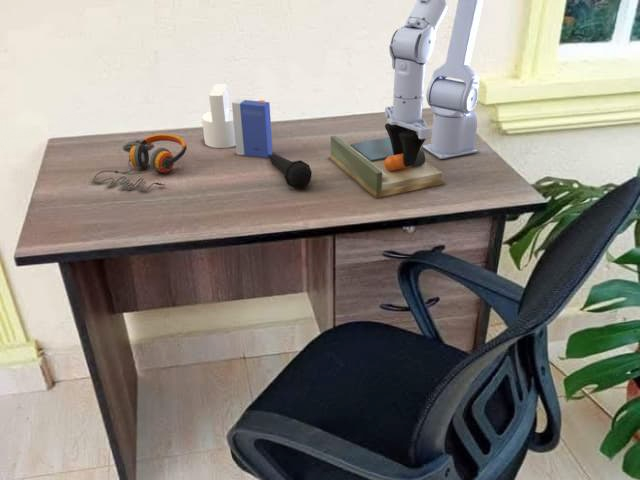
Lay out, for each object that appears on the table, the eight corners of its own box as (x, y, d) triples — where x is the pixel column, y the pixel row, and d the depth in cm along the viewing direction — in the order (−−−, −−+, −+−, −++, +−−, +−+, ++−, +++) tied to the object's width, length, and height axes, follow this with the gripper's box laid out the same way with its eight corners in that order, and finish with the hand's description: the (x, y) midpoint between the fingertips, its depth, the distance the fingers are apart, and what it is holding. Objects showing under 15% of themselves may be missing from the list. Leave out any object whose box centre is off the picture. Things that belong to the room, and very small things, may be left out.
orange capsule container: (418, 162, 138) (418, 147, 136) (425, 166, 136) (426, 152, 134) (381, 169, 136) (381, 155, 134) (388, 174, 133) (388, 159, 131)
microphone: (263, 172, 148) (297, 197, 132) (253, 150, 145) (286, 172, 129) (284, 161, 149) (320, 184, 133) (274, 138, 146) (310, 158, 129)
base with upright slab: (240, 147, 153) (236, 95, 145) (202, 148, 153) (195, 96, 146) (244, 133, 160) (240, 83, 153) (207, 134, 160) (201, 84, 153)
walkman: (272, 153, 149) (269, 100, 142) (267, 158, 147) (264, 104, 140) (241, 149, 152) (236, 97, 144) (236, 154, 149) (231, 101, 142)
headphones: (82, 172, 136) (137, 120, 147) (92, 193, 139) (144, 141, 151) (149, 186, 130) (201, 131, 141) (157, 207, 134) (207, 152, 145)
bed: (391, 147, 151) (392, 125, 148) (442, 184, 135) (444, 160, 132) (330, 159, 146) (330, 136, 143) (376, 198, 130) (377, 173, 127)
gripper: (372, 87, 131) (370, 152, 139) (408, 108, 120) (404, 178, 128) (403, 82, 133) (400, 147, 141) (442, 103, 122) (435, 172, 130)
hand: (404, 161), depth 135 cm, fingers open, 4 cm apart
